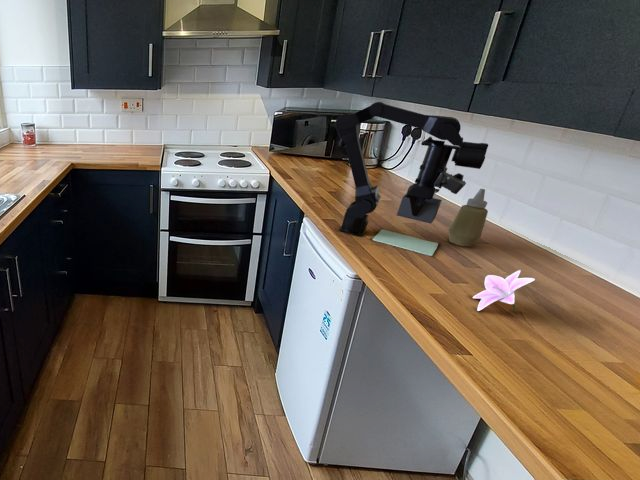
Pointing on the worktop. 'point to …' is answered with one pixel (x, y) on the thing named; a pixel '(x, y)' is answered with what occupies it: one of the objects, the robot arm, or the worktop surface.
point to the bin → (426, 211)
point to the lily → (501, 289)
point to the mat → (406, 242)
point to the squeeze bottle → (469, 221)
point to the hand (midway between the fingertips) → (416, 213)
